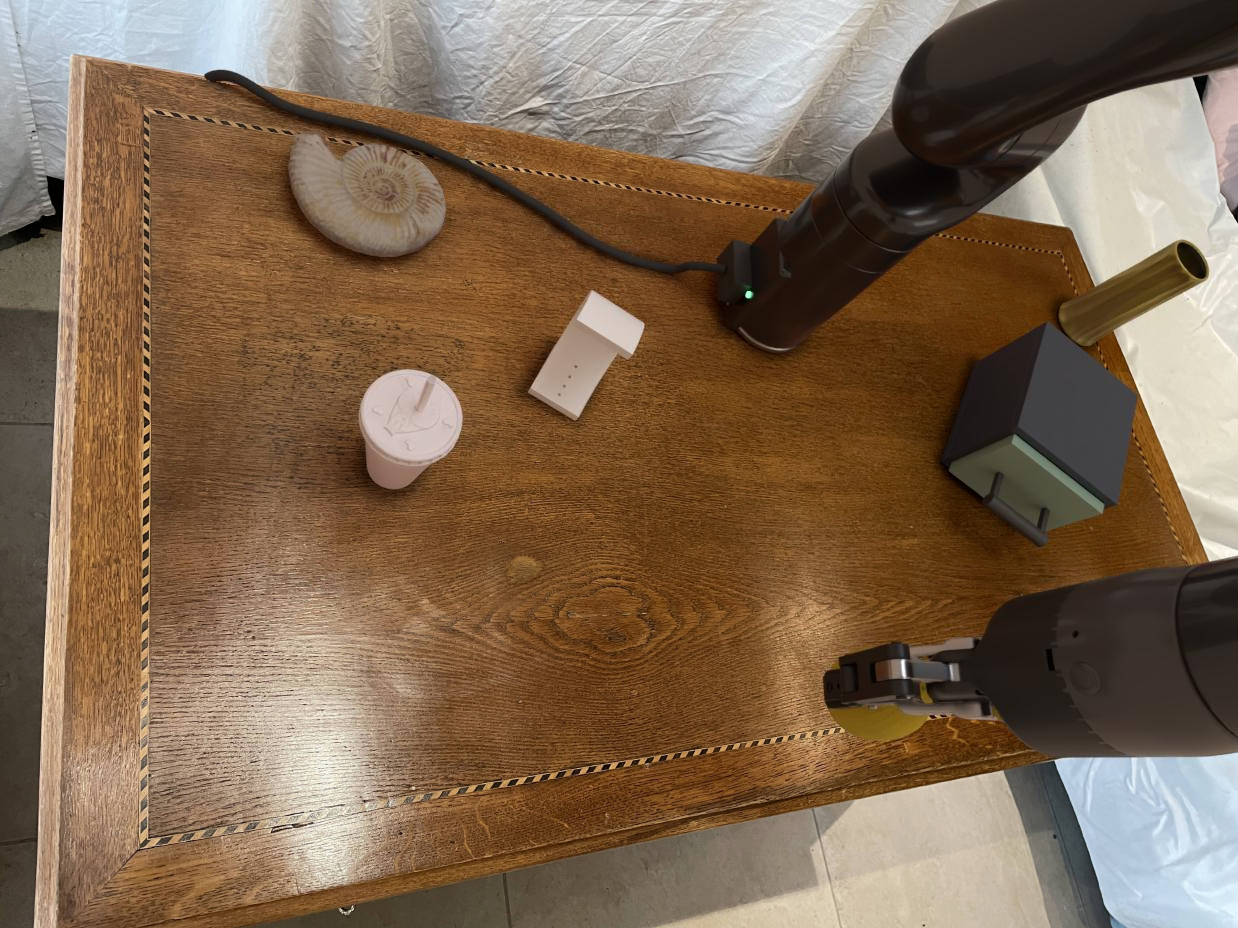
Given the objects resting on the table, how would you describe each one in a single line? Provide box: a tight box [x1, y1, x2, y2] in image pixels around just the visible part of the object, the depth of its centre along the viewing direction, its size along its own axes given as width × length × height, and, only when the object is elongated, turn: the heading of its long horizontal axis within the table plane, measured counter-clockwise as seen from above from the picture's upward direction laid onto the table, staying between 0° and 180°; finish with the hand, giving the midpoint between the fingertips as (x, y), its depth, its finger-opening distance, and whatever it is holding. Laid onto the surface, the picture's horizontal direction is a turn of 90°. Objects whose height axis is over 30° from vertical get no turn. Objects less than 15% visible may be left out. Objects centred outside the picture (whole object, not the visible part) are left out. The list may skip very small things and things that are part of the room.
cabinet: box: [940, 320, 1139, 510], centre depth 80 cm, size 15×13×10 cm
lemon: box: [826, 646, 933, 742], centre depth 48 cm, size 6×6×8 cm
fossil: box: [287, 130, 447, 258], centre depth 63 cm, size 12×5×10 cm
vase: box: [1057, 238, 1210, 347], centre depth 91 cm, size 6×6×14 cm
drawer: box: [948, 434, 1104, 548], centre depth 78 cm, size 18×11×8 cm, turn 151°
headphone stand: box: [527, 289, 645, 422], centre depth 61 cm, size 5×6×12 cm
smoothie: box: [358, 368, 463, 490], centre depth 52 cm, size 6×6×14 cm
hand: (870, 693), depth 48 cm, fingers closed on lemon, 5 cm apart
